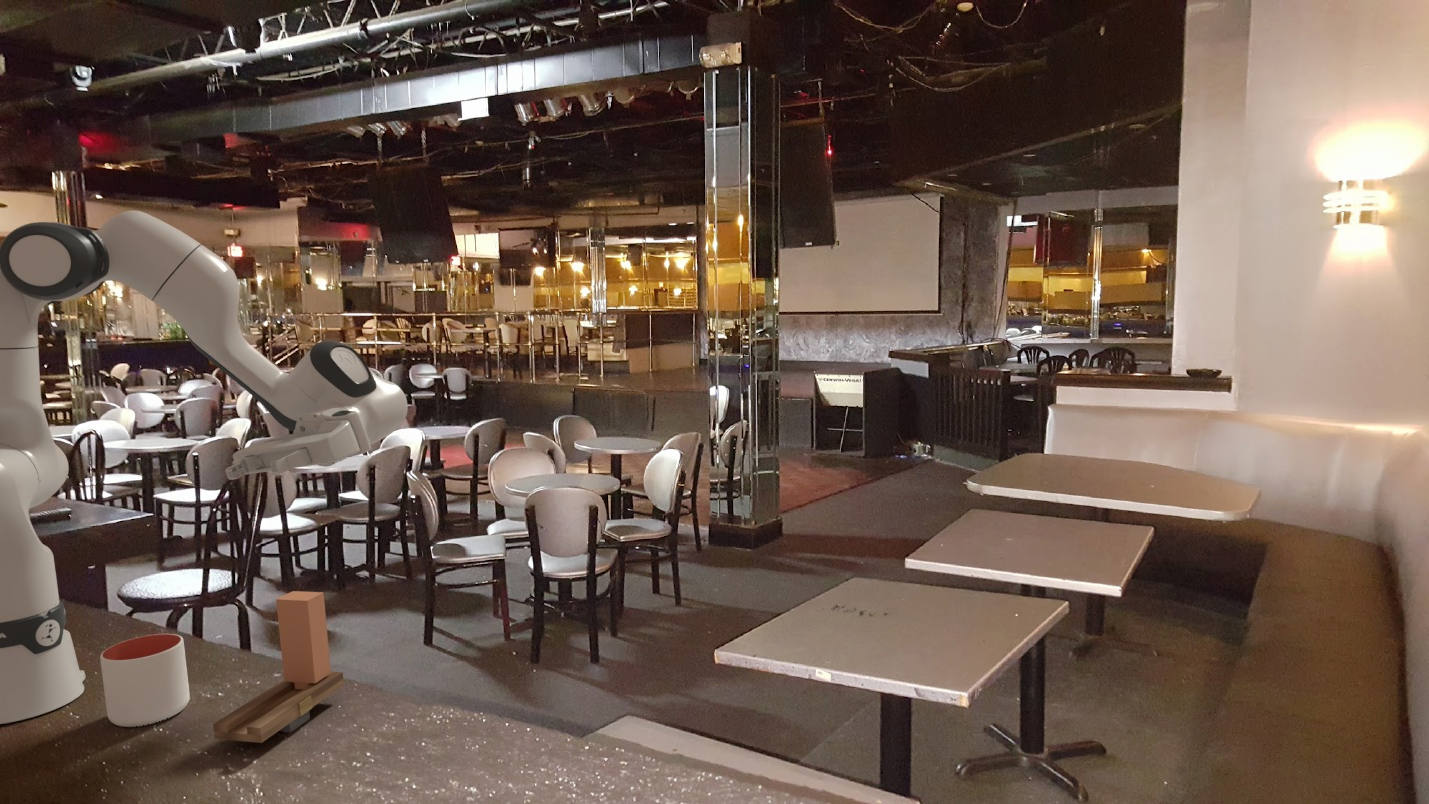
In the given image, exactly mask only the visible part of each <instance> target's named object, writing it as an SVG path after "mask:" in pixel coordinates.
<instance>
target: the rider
mask: <svg viewBox="0 0 1429 804" xmlns="http://www.w3.org/2000/svg"><path fill="white" fill-rule="evenodd" d="M324 595H325V594H324V592H323V591H321V592H320V591H319V592H318V591H300V590H297V591H296V590H295V591H293V590H292V591H289V592H288V593H286V594H284V595H282V596H280V597H278V598H276V599H275V603H276V612H277V620H278V621H277V622H278V631H279V641H280V643H279V644H280V652H281V663H282V672H283V680H284V681H287V682H294V685H295V689H305V688H306V687H308V686H309V685H311V684H312V683H317V682H318V681H320V680H321V679H323V678H324V677H326V676H327V675H329V674H330V673H331V670H332V669H331V668H332V667H331V659H330V649H329V646H330V645H329V639H328V638H329V636H328V626H327V616H326V615H327V614H326V606H325V605H326V604H325V596H324Z"/></svg>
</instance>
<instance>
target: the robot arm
mask: <svg viewBox="0 0 1429 804" xmlns="http://www.w3.org/2000/svg"><path fill="white" fill-rule="evenodd" d="M108 281H109V282H111V281H113V282H118V283H121V284H123V285H126V286H127V287H128V288H129V287H130V288H131V289H133V290H134V291H136V292H137V293H139V294H140V295H143V296H144V297H145V298H146V299H148V300H149V301H151V302H153V303H154V304H156V306H158V307H160V308H161V309H163V310H164V311H165V312H167V314H168V315H169V316H171V318H172V319H174V320H175V321H176V322H177V324H179V326H180V327H181V328H182V330H183V331H184V332H185V334H186V337H187V339H188V340H189V342H190V343H191V345H192V346H193V347H194V348H195V349H196V350H197V351H198V352H199V353H201V355H203V356H204V357H205V358H206V359H207V360H208V361H210V362H211V363H212V364H213V365H214V366H216V368H218V369H220V371H222V372H223V373H224V374H226V375H227V377H229V378H230V379H231V380H233V382H235V383H236V384H238V385H239V386H240V387H241V388H242V389H244V390H245V391H246V392H247V393H249V394H250V395H252V396H253V397H254V398H255V399H256V400H257V401H258V402H259V403H260V404H262V406H263V407H264V408H265V409H266V411H267V412H268V413H269V414H270V415H271V416H272V418H273V419H274V420H275V421H276V422H277V423H278V424H280V425H281V426H282V427H284V428H285V429H287V430H289V431H290V432H291V431H292V432H293V433H289V434H284V435H278V436H273V437H270V438H267V439H264V440H262V441H259V442H256V443H254V444H251V445H249V446H247V447H245V448H244V447H243V448H242V449H239V450H237V451H236V452H234V453H233V454H232V459H233V461H234V464H233V465H231V466H229V467H226V468H225V472H224V473H225V475H226V476H227V479H228V480H229V481H230V480H231V481H232V480H238V479H240V478H243V477H244V476H247V475H251V474H258V473H266V472H271V473H273V474H283V473H285V472H287V471H289V470H292V469H295V468H303V467H310V466H311V467H313V466H319V467H323V468H324V467H325V468H326V467H331V466H333V465H336V464H337V463H339V462H342V461H345V460H347V459H348V458H351V457H356V456H360V455H364V454H365V453H367V452H368V453H369V452H370V451H371V450H372V445H374V444H375V443H378V442H379V441H381V440H383V439H385V438H386V437H388V436H390V435H391V434H392V433H394V432H395V431H397V430H398V429H399V428H400V427H401V426H402V425H403V423H404V421H405V420H406V418H407V414H408V409H409V408H408V400H407V396H406V394H405V393H404V391H403V390H402V388H401V387H400V386H399V385H398V384H396V383H394V382H393V381H389V380H386V379H384V378H382V377H380V376H378V375H377V374H376V373H374V372H373V370H371V369H370V368H369V366H368V365H367V363H366V362H365V360H364V359H363V357H362V356H361V355H360V354H359V352H357V350H355V349H354V348H353V347H352V346H350V345H348V344H346V343H343V342H339V341H335V340H323V341H319V342H317V343H315V344H314V345H313V346H312V347H311V348H310V349H309V350H308V351H307V352H306V353H305V354H304V356H303V357H302V358H301V359H300V360H299V361H298V362H297V364H296V365H295V366H294V367H293V369H292V370H291V371H290V372H285V371H282V370H281V369H280V368H279V367H278V366H276V365H275V364H274V363H273V362H271V361H270V360H269V359H268V358H267V357H266V356H265V355H264V354H262V353H261V352H260V351H259V350H257V348H255V347H254V346H253V345H252V344H250V343H249V342H248V341H247V340H246V338H245V337H244V335H243V334H242V332H241V329H240V326H239V317H238V316H239V315H238V314H239V313H238V312H239V305H240V304H239V303H240V299H241V298H240V292H241V291H240V285H239V281H238V278H237V275H236V273H235V271H234V270H233V269H232V268H231V267H230V265H229V264H228V263H227V262H226V260H223V258H221V257H220V256H219V255H218V254H216V253H215V252H213V251H212V250H210V249H209V248H207V247H206V246H205V245H202V243H200V242H199V241H197V240H196V239H194V238H193V237H191V236H189V235H188V234H186V233H185V232H183V231H182V230H180V229H178V228H177V227H174V226H173V225H170V223H168V222H165V221H163V220H162V219H159V218H158V217H155V216H153V215H150V214H149V213H146V212H143V211H141V210H135V209H134V210H133V209H131V210H127V211H121V212H120V213H118V214H115V215H114V216H113V217H110V218H109V219H108V220H107V221H106V222H105V223H104V224H103V225H102V226H101V227H100V228H98V229H97V230H95V231H94V230H93V229H91V228H89V227H81V226H75V225H71V224H69V223H64V222H55V221H53V222H52V221H51V222H49V221H39V222H31V223H27V224H24V225H21V226H19V227H17V228H15V229H13V230H12V231H11V232H9V233H8V234H7V235H6V237H4V239H3V240H2V241H1V244H0V725H2V724H9V723H14V722H18V721H24V720H27V719H31V718H34V717H38V716H40V715H44V714H46V713H49V712H51V711H54V710H57V709H59V708H61V707H63V706H65V705H67V704H69V703H71V702H73V701H75V700H76V699H77V698H79V697H80V696H81V695H82V694H83V693H84V692H85V685H84V683H83V682H84V680H86V677H87V676H86V674H85V670H84V669H83V670H82V669H80V667H79V664H78V659H77V655H76V651H75V647H74V643H73V640H72V636H71V633H70V632H69V631H68V630H66V629H65V626H66V625H67V620H66V614H67V613H66V609H65V607H64V601H62V600H60V595H59V588H58V580H57V573H56V564H55V557H54V553H53V552H52V549H50V547H48V546H47V545H45V544H43V542H42V541H41V540H40V538H39V537H38V535H37V533H36V530H35V529H34V527H33V524H32V521H31V519H30V514H29V511H30V510H31V509H32V508H35V507H37V506H40V505H42V504H44V503H45V502H47V501H48V500H49V499H51V497H52V496H54V494H56V493H57V492H58V491H59V489H61V487H62V486H63V485H64V483H65V482H66V481H67V479H68V475H69V470H70V469H69V461H68V459H67V456H66V455H65V452H63V450H62V449H61V448H60V447H59V446H58V445H57V443H55V440H54V437H53V435H52V432H51V430H50V426H49V424H48V423H49V422H48V420H47V417H46V413H45V409H44V406H43V402H42V401H43V399H42V392H41V378H40V376H41V374H40V355H39V331H38V330H39V329H38V325H39V323H38V322H39V317H40V313H41V312H42V310H43V308H44V307H45V306H47V305H53V304H55V303H59V302H67V301H72V300H76V299H79V298H82V297H86V296H88V295H90V294H92V293H95V292H96V291H97V290H98V289H100V288H101V287H102V286H103V285H104V283H105V282H108Z"/></svg>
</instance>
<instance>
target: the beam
mask: <svg viewBox="0 0 1429 804" xmlns="http://www.w3.org/2000/svg"><path fill="white" fill-rule="evenodd" d="M344 683H345V682H344V673H343V671H333V670H332V671H331V673H330V674H329V675H327V676H326V677H324V678H323V679H321V680H320V681H318V682H317V683H312V684H311V685H309V686H308V687H306V688H305V689H295V685H294V682H287V681H284V679H283V680H281V681H280V682H278V683H276V684H275V685H273V686H271V687H270V688H268V689H267V690H265V691H264V692H262V693H261V694H259V695H257V696H256V697H254V698H253V699H251V700H249V701H247V702H246V703H245V704H243V705H241V706H240V707H238V708H236V709H235V710H233V711H232V712H229V714H227V715H225V716H224V717H222V718H220V719H219V720H218V721H216V722H214V723H213V724H212V725H213V734H214V740H225V741H237V742H248V743H259V744H262V743H264V742H265V741H266V740H268V739H269V738H270V737H272V736H275V734H277V733H278V731H287V732H286V733H292V732H294V731H295V730H296V729H298V728H300V727H301V726H302V725H304V724H305V723H306V722H308V721H309V720H310V719H311V715H310V713H311V712H310V710H312V709H313V708H314V707H315V706H316V705H318V704H319V703H321V702H323V700H325V699H326V698H328V697H329V696H331V695H333V694H334V693H335V692H336V691H338V690H339V689H341V688H342V687H344V686H345V685H344Z"/></svg>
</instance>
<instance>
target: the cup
mask: <svg viewBox="0 0 1429 804" xmlns="http://www.w3.org/2000/svg"><path fill="white" fill-rule="evenodd" d="M185 649H186V648H185V644H184V638H183V636H181V635H178V634H176V633H175V634H174V633H158V634H157V633H156V634H149V635H144V636H139V637H138V636H137V637H134V638H130V639H127V640H123V641H121V642H118V643H116V644H114V645H111V646H110V647H109V646H108V648H106V649H105V650H103V651H102V652H101V654H99V660H100V667H101V674H102V683H103V690H104V699H105V706H106V715H107V718H108V720H109V721H110V722H111V723H113V725H116V726H119V727H125V728H126V727H127V728H136V726H137V727H144V726H149V725H153V724H156V722H157V723H159V721H160V722H163V721H165V720H167V718H168V719H170V718H172V717H173V716H175V715H177V714H178V713H180V712H181V711H183V710H184V709H185V708H186V707H187V705H188V703H189V701H190V699H191V696H190V695H191V694H190V687H189V686H190V685H189V677H188V669H187V660H186V651H185ZM162 720H163V721H162ZM148 724H149V725H148ZM143 725H144V726H143Z"/></svg>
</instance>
